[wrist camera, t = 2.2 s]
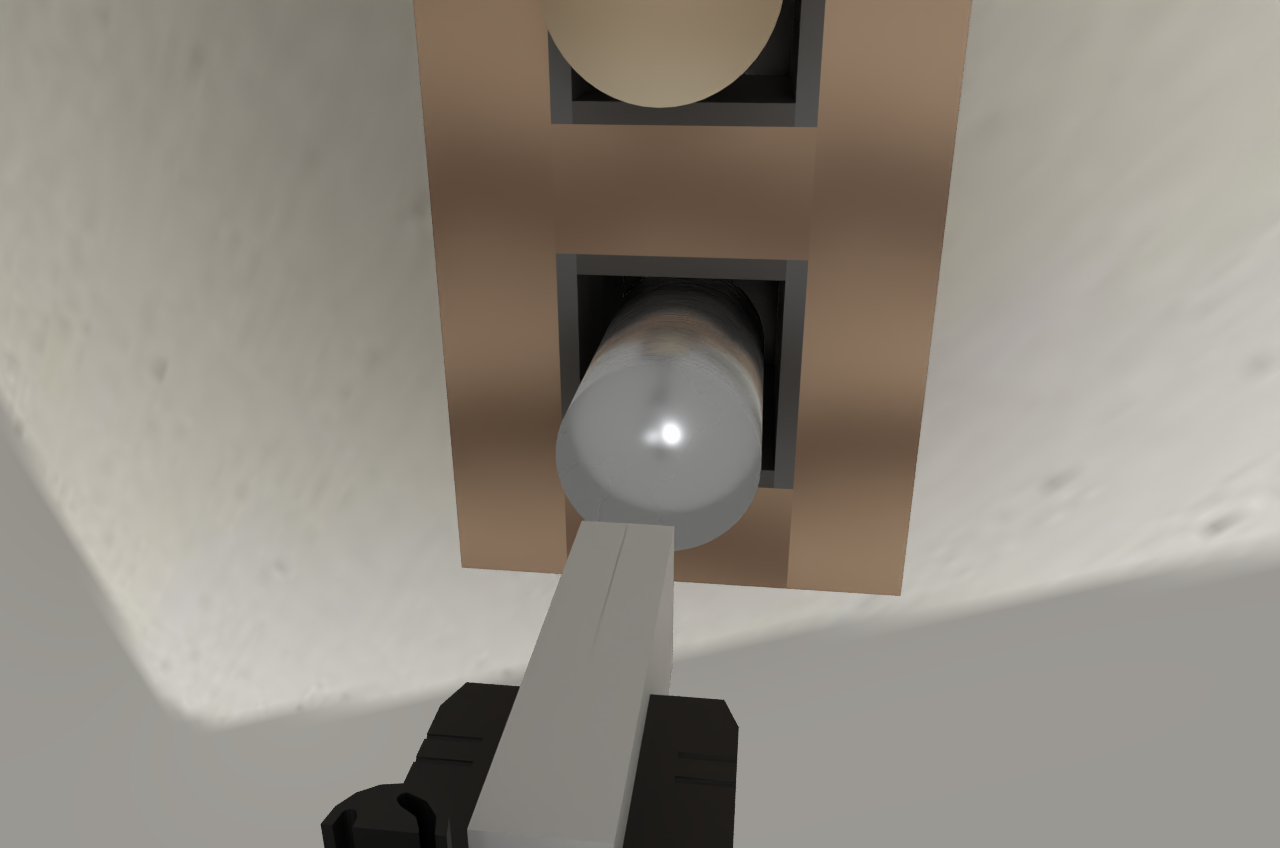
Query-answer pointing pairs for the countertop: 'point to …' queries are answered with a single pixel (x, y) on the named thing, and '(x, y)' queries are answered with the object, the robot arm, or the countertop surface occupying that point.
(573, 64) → the beech peg
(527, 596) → the countertop surface
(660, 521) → the steel peg
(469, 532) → the socket block
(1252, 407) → the countertop surface
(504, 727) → the robot arm
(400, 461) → the countertop surface
